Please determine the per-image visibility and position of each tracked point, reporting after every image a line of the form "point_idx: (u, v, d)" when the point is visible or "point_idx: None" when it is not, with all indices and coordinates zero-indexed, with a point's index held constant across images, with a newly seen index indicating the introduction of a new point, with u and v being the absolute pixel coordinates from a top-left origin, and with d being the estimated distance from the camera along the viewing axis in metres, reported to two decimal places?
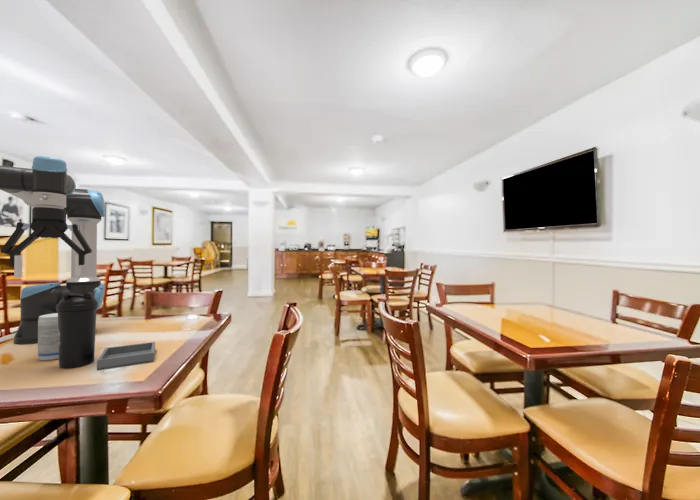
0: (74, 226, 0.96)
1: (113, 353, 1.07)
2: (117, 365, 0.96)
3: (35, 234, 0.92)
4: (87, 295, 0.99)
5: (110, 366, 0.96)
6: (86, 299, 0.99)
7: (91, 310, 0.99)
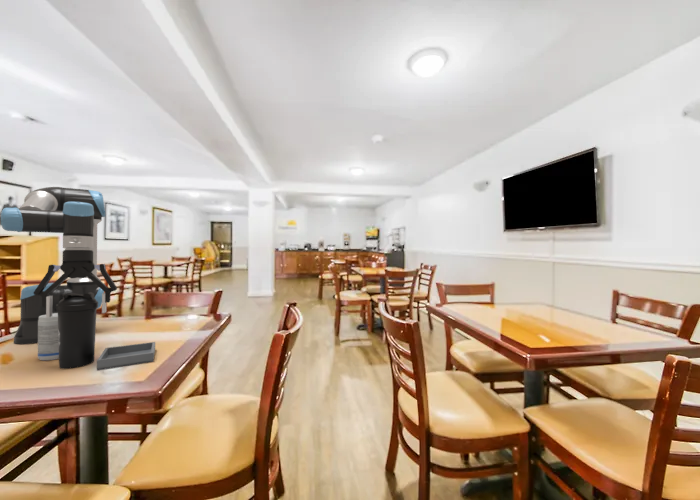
0: (101, 266, 1.02)
1: (113, 353, 1.07)
2: (117, 365, 0.96)
3: (65, 275, 0.97)
4: (87, 295, 0.99)
5: (110, 366, 0.96)
6: (86, 299, 0.99)
7: (91, 310, 0.99)
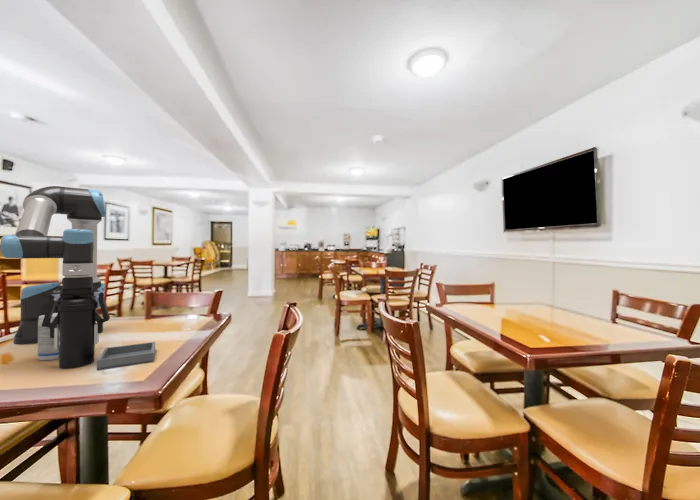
0: (101, 294, 1.02)
1: (113, 353, 1.07)
2: (117, 365, 0.96)
3: None
4: (87, 295, 0.99)
5: (110, 366, 0.96)
6: (86, 299, 0.99)
7: (91, 310, 0.99)
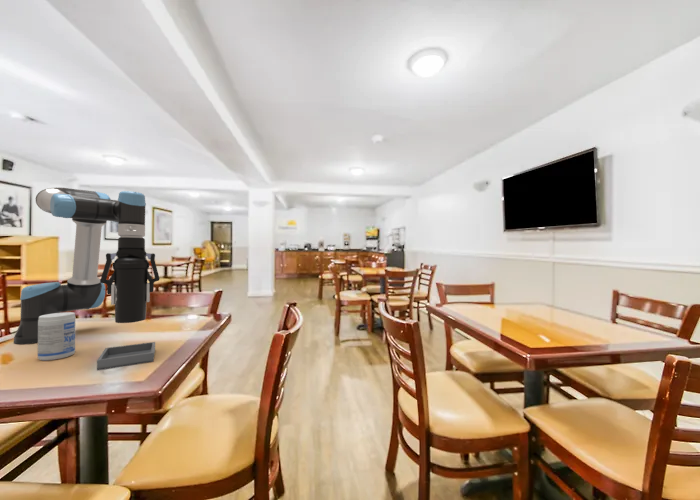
0: (152, 255, 1.07)
1: (113, 353, 1.07)
2: (117, 365, 0.96)
3: None
4: (141, 255, 1.04)
5: (110, 366, 0.96)
6: (140, 258, 1.04)
7: (145, 269, 1.04)
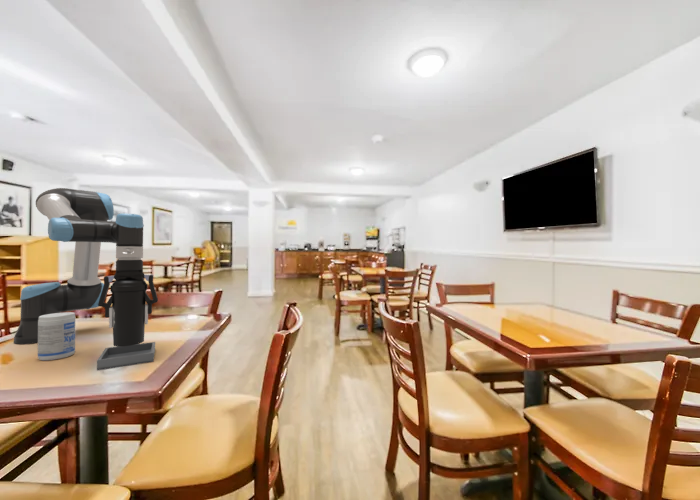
0: (150, 277, 1.06)
1: (113, 353, 1.07)
2: (117, 365, 0.96)
3: None
4: (139, 277, 1.04)
5: (110, 366, 0.96)
6: (138, 280, 1.03)
7: (143, 291, 1.04)
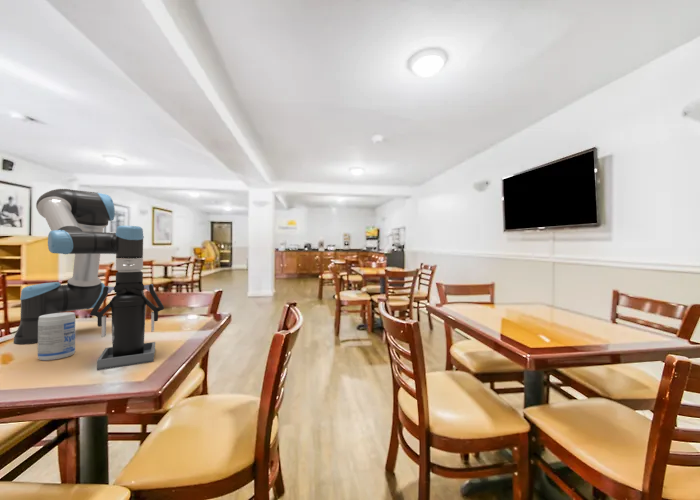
0: (150, 286, 1.06)
1: None
2: (117, 365, 0.96)
3: None
4: (138, 291, 1.03)
5: (110, 366, 0.96)
6: (137, 295, 1.03)
7: (142, 306, 1.04)
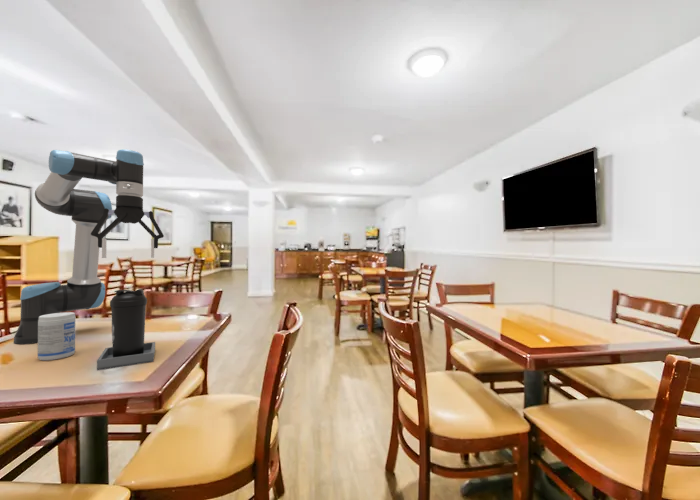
0: (150, 213, 1.07)
1: None
2: (117, 365, 0.96)
3: (119, 219, 1.02)
4: (138, 291, 1.04)
5: (110, 366, 0.96)
6: (137, 295, 1.03)
7: (142, 306, 1.04)
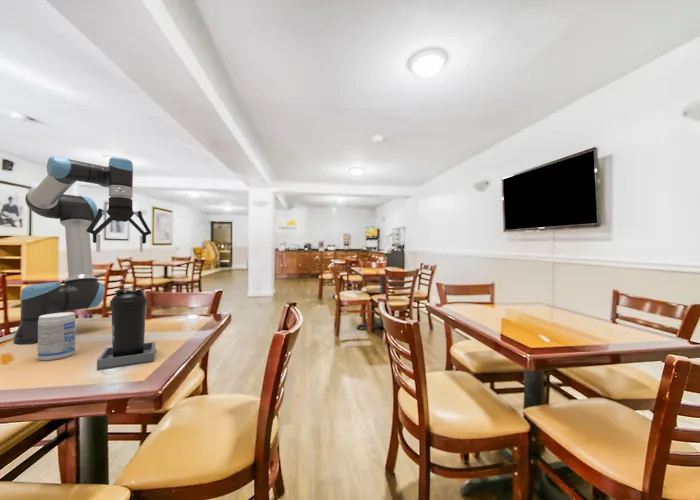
0: (139, 212, 1.22)
1: None
2: (117, 365, 0.96)
3: (111, 218, 1.17)
4: (138, 291, 1.04)
5: (110, 366, 0.96)
6: (137, 295, 1.03)
7: (142, 306, 1.04)
